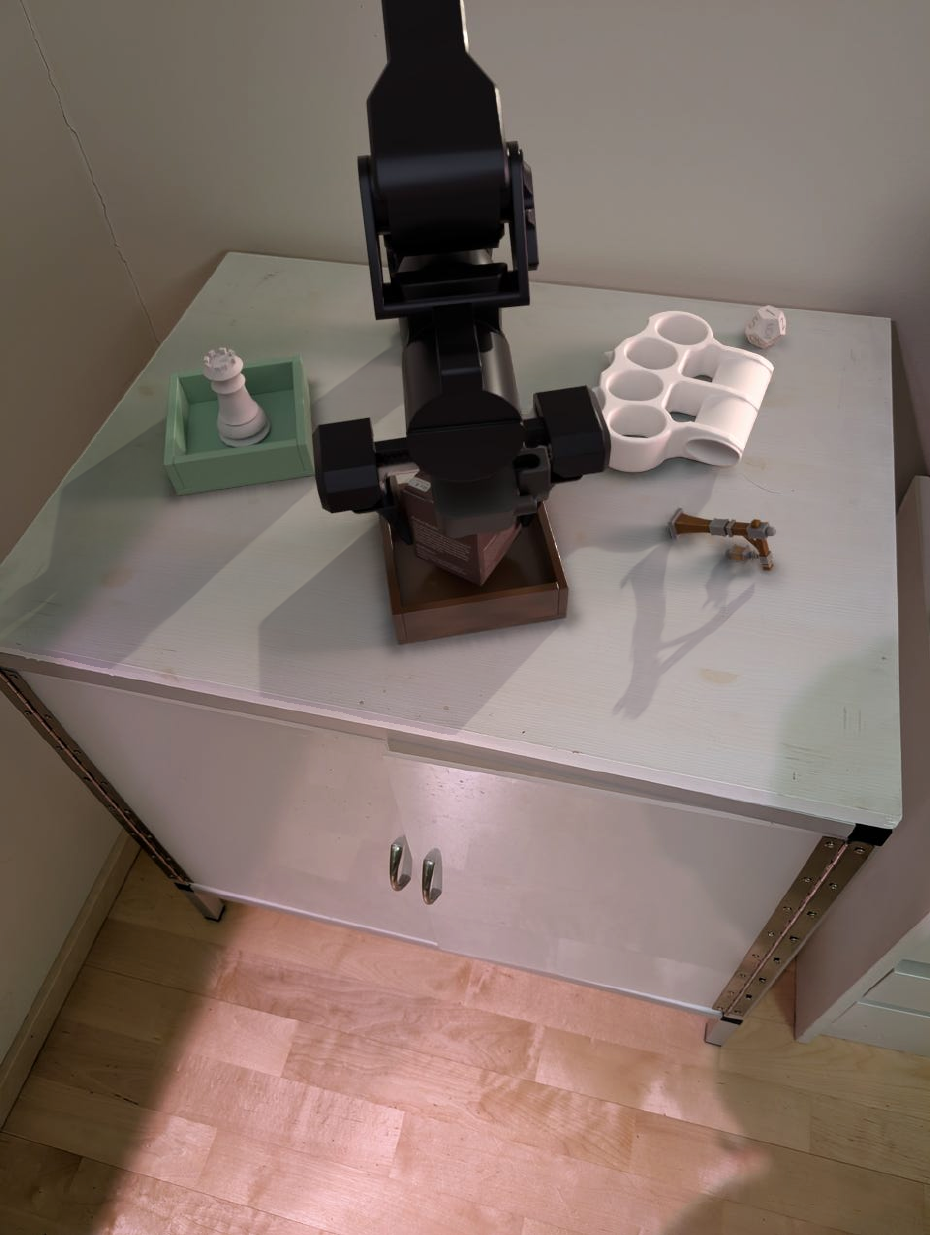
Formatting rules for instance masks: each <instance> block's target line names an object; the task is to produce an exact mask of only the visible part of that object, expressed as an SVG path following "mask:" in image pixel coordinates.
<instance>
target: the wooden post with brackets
mask: <svg viewBox="0 0 930 1235" xmlns="http://www.w3.org/2000/svg"><path fill="white" fill-rule="evenodd" d="M666 523H667V526H668V528H669V532H670V535H671V538H672V540H678V539H679V538H680V536H681V535H683V534H684V535H685V534H710V536H712V537H714V536H717V537H724V538H726V537H727V536H728V538H731V539H732V538H734V536H737V537H743V538H744V539H745V540H746V541H747V542H748V543H750V545H752V546H753V548H755V549H756V550H757V552H758V553H756V551H755V550H753V551H752V550H751V549H750V546H749V544H747V545H746V546H745V547H744V546H740V545H737V544H734V545H733V546H732V547H731V548H726V550H725V555H726V556H727V557H728V558H729V557H730V561H731V562H732V563H733V562H735V561H736V562H743V565H746V564H747V562H748V561H749V560H751V561H754V560H756V559H758V560H759V563H760V564H761V566H762V568H763V569H762V570H763V571H768V572H771V571H772V569H773V567H774V566H775V565H774V561H773V559H774V557H773V553H772V550H770V548H769V544H768V538H769V537H774V536H775V535H776V534H777V528H776V527H775V526H771V524H770V522H769V521H762V520H761V519H758V518H757V519H756V518H753V520H751V521H750V522H742V521H737V520H736V519H733V518H732V519H731V520H730V519H729V518H716V517H714V518H713V519H708V518H701V517H697V516H693V515H689V514H686V513H685V512H684V508H683V507H679V506H677V508H676V509H675V511H674V512H673V513H672V514H671V516H670V517H669V518H668V520H667V522H666Z"/></svg>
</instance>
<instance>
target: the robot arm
mask: <svg viewBox="0 0 930 1235" xmlns="http://www.w3.org/2000/svg"><path fill="white" fill-rule="evenodd" d="M380 4H381V12H382V22H383V32H384V42H385V43H384V44H385V53H386V64H385V65H384V67H383V69H382V71H381V72H380V74H379V76H378V78H377V79H376V82H375V83H374V84H373V87H372V89H371V90H370V92H369V94H368V96H367V97H366V100H365V102H366V103H365V105H366V117H367V129H368V140H369V150H370V152H369V153H370V154H364V155H357V156H356V157H357V159H356V161H357V163H356V164H357V176H358V177H357V178H358V185H359V193H360V202H361V211H362V219H363V228H364V236H365V237H364V238H365V245H366V252H367V253H366V254H367V261H368V270H369V278H370V287H371V293H372V294H371V295H372V303H373V311H374V312H373V313H374V318H375V321H383V320H394V319H398V325H399V332H400V341H401V348H402V352H401V358H400V359H401V377H402V391H403V392H402V393H403V407H404V419H405V420H404V421H405V436H404V437H403V436H402V437H396V438H390V439H382V440H376V441H375V439H374V430H373V423H372V418H371V417H370V416H368V417H362V418H355V419H349V420H348V419H347V420H341V421H335V422H334V421H333V422H327V423H322V424H318V425H317V426H316V428H315V430H314V431H312V443H313V456H314V469H315V475H314V479H315V480H314V481H315V486H316V490H317V491H316V492H317V495H318V498H319V501H320V505H321V508H322V510H324V511H326V512H328V513H330V514H338V513H345V512H352V513H353V514H355V515H363V514H364V515H365V514H371V513H377V514H378V516H379V515H381V516H382V517H383V518H384V519H385V520H386V521H387V522H388V523H389V524H390V525H391V527H392V528H393V529H394V530H395V531H396V533H397V534H398V535H399V536H400V537H401V539H402V540H403V541H404V542H405V543H406V545H412V544H413V543H412V536H411V531H410V527H409V522H408V516H407V511H406V508H405V504H404V501H403V498H402V495H401V492H400V488H399V485H398V484H399V482H398V479H397V476H400V475H407V474H415V473H418V472H420V476H425V475H429V476H430V485H431V491H432V497H433V503H434V508H435V514H436V521H437V526H438V529H439V531H440V532H441V533H442V534H443V535H444V536H446V537H448V538H461V537H464V536H467V535H473V534H479V533H486V532H500V531H505V530H507V529H509V528H510V527H512V526H513V524H514V523H515V520H516V516H520V515H521V524H522V527H523V528H524V527H528V526H529V524H530V523H531V521H532V519H533V518H534V516H535V514H536V513H537V511H538V509H539V508H540V506H541V504H542V503H543V501H544V502H546V501H548V499H549V497H550V494H551V491H552V490H553V489H554V487H555V486H556V485H559V484H566V483H574V482H578V481H580V480H581V479H582V478H583V477H584V476H586V475H592V474H593V475H594V474H600V473H604V472H605V470H606V469H607V468H608V467H609V463H610V455H611V447H612V446H611V438H610V432H609V429H608V427H607V424H606V421H605V419H604V416H603V413H602V411H601V408H600V406H599V403H598V400H597V398H596V395H595V393H594V392H593V391H592V390H591V389H592V388H590V387H589V386H588V385H586V384H585V385H579V386H573V387H565V388H559V389H551V390H545V391H538V392H535V393H533V394H532V409H531V410H530V412H528V413H522V406H521V402H520V397H519V392H518V386H517V381H516V375H515V369H514V363H513V359H512V353H511V348H510V343H509V342H508V339H507V337H506V335H505V333H504V331H503V312H502V311H503V310H502V309H507V308H517V307H529V306H530V305H531V294H530V293H531V292H530V275H529V272H534V271H537V270H538V268H539V264H540V256H539V255H540V254H539V245H538V242H539V241H538V232H537V220H536V209H535V208H536V207H535V206H536V205H535V196H534V195H535V194H534V184H533V173H532V167H531V166H530V164H528V163H527V161H525V160H524V150H523V149H524V148H520V145H519V142H518V140H509V141H507V139H506V132H505V122H504V117H503V108H502V102H501V93H500V89H499V86H498V85H497V84H496V82H495V81H494V80H493V79H492V78H491V77H490V75H489V74H488V73H487V72H486V71H485V70H484V69H483V68H482V67H481V65H480V64H479V63H478V62H477V61H476V60H475V59H474V57H472V55H471V53H470V52H471V51H470V46H469V36H468V26H467V18H466V8H465V7H466V6H465V0H380ZM505 224H507V226H508V233H509V234H508V235H509V244H510V253H511V254H510V255H511V263H512V269H511V270H510V269H509V265H508V264H507V262H503V261H501V262H499V261H498V262H494V260H493V253H494V252H493V250H494V249H499V248H500V242H501V240H502V239H503V238H504V237H505V235H506V230H505V229H506V228H505ZM380 236H382V239H383V240H382V241H383V247H384V248H385V252H386V253H385V254H386V261H387V267H388V274H389V280H390V281H387V282H384V274H383V273H384V272H383V263H382V262H383V261H382V253H381V251H382V250H381V241H380Z"/></svg>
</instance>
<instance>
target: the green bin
mask: <svg viewBox="0 0 930 1235" xmlns="http://www.w3.org/2000/svg"><path fill="white" fill-rule="evenodd" d="M305 371H306V370H305V367H304V364H303V360H302V356H301V354H296V355H290V356H283V357H282V356H281V357H274V358H267V359H261V360H253V361H247V362H243V368H242V370H241V372H240V373H241V374H242V375H244V377H245V384H244V385H245V388H246V390H247V391H248V393H249V395H250V397H251V399H252V400H253V401H255V402H256V403H257V404H258V405H259V406H260V407H262V408H263V410H264V411H265V414H266V416H267V418H268V420H269V423H270V428H269V432H268V434H267V435H266V437H265V438H264V439H263V441H261V442H260V443H258V444H257V445H250V446H244V447H237V448H236V447H232V446H230V445H227V444H226V443H225V442H223V441H222V440H221V438H220V435H219V430H218V428H217V419H218V413H219V409H220V407H219V402H218V396H217V393H216V392H215V391H214V390H213V389H212V387H211V383H212V380H210V379H208V378H207V377H206V376H204V373H203V368H198V369H191V370H184V371H179V372H170V373H169V381H168V382H169V384H168V394H167V395H168V396H167V409H166V423H165V434H164V436H165V437H164V449H163V450H164V451H163V452H164V453H163V465H162V466H163V467H164V469H165V472H166V474H167V477H168V478H169V480H170V482H171V484H172V486H173V488H174V490H175V493H176V495H177V496H185V495H190V494H191V495H192V494H198V493H205V492H213V491H217V490H219V491H220V490H227V489H231V488H237V487H239V488H240V487H245V486H250V485H257V484H264V483H265V484H266V483H272V482H278V481H285V480H291V479H298V478H299V479H300V478H304V477H313V476H315V469H314V456H313V443H312V434H313V425H312V413H311V412H312V411H311V401H310V400H311V399H310V388H309V387H310V386H309V383H308V378H307V375H306V372H305Z"/></svg>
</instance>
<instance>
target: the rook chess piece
mask: <svg viewBox="0 0 930 1235" xmlns="http://www.w3.org/2000/svg"><path fill="white" fill-rule="evenodd" d="M218 351H219V352H218V353H216V352H215V350H214V349H211V350H210V351H208V352H207V354H208V355H204V358H203V362H204V365H203V367H202V369H203V373H204V376H206V377H207V378H208V379H210V380H212V383H211V387H212V389H213V390H214V391H215V392H216V393H217V396H218V402H219V407H220V409H219V413H218V419H217V428H218V430H219V435H220V438H221V440H222V441H223V442H225V443H226V444H227V445H230V446H232V447H236V448H237V447H244V446H250V445H257V444H258V443H260V442H261V441H263V439H264V438H265V437H266V435H267V434H268V432H269V428H270V423H269V420H268V418H267V416H266V414H265V411H264V410H263V408H262V407H260V406H259V405H258V404H257V403H256V402H255V401H253V400H252V399H251V397H250V395H249V393H248V391H247V390H246V388H245V385H244V384H245V377H244V375H242V374H241V373H240V372H241V370H242V368H243V363H244V362H243V360H242V358H240V357H239V356H238V355H236V353H235V351H234V350H233V349H232V348H229V349H228V350H227V348H226V347H219V348H218Z"/></svg>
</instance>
